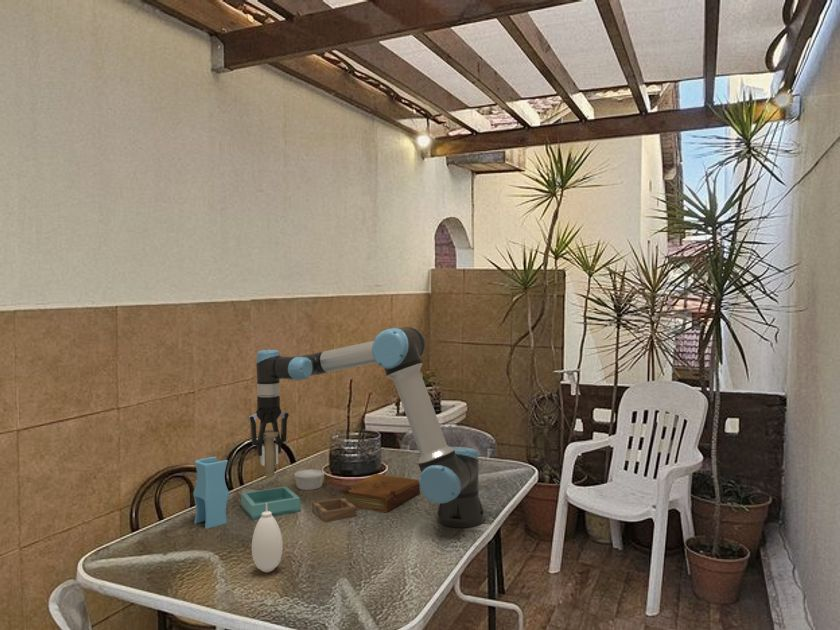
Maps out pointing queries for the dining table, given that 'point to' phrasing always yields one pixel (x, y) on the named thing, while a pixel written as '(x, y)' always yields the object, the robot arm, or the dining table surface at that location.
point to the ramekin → (309, 479)
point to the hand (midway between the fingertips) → (269, 463)
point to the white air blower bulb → (267, 543)
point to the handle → (269, 453)
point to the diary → (381, 492)
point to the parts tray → (270, 502)
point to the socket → (336, 514)
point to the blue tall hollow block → (211, 492)
